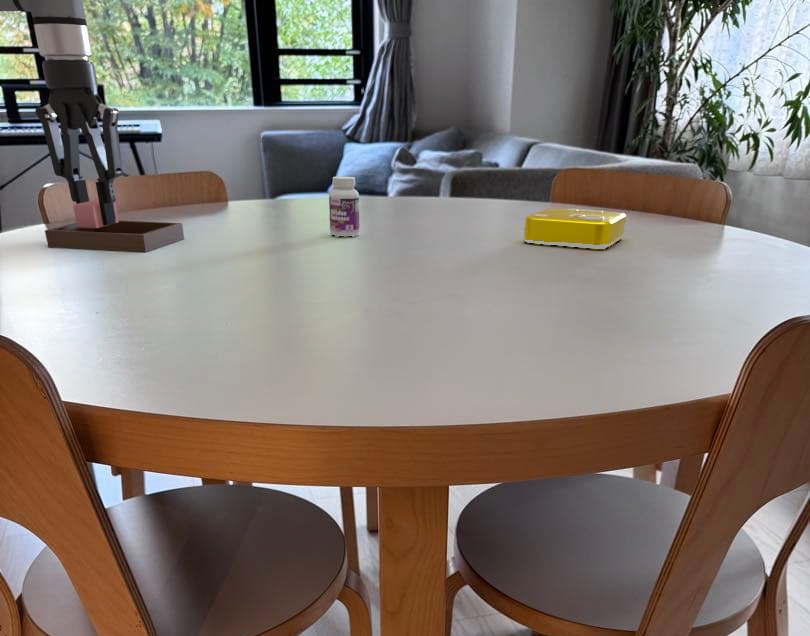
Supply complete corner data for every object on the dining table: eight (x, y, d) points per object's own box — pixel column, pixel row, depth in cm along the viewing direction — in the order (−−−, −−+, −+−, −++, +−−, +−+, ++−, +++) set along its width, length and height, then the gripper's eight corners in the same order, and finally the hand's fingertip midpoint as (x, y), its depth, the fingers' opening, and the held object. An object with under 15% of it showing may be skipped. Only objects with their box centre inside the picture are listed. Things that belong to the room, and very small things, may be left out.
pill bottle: (328, 237, 135) (325, 178, 130) (332, 232, 140) (330, 175, 135) (357, 238, 135) (356, 178, 130) (361, 233, 139) (360, 176, 135)
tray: (48, 247, 124) (44, 230, 123) (93, 234, 136) (91, 219, 134) (145, 252, 121) (143, 235, 120) (184, 238, 132) (182, 223, 131)
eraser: (96, 228, 124) (92, 205, 122) (77, 227, 125) (72, 204, 123) (119, 222, 130) (115, 200, 128) (100, 221, 131) (96, 199, 129)
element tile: (624, 238, 137) (629, 210, 135) (605, 251, 126) (610, 220, 123) (545, 232, 143) (548, 204, 141) (520, 243, 131) (522, 214, 129)
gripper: (129, 60, 117) (154, 222, 129) (34, 60, 120) (67, 218, 132) (103, 58, 111) (131, 228, 123) (3, 58, 114) (40, 224, 126)
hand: (98, 223), depth 127 cm, fingers closed on eraser, 4 cm apart
